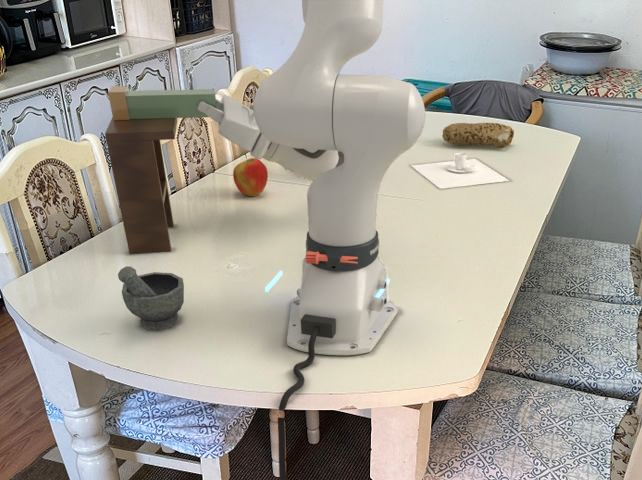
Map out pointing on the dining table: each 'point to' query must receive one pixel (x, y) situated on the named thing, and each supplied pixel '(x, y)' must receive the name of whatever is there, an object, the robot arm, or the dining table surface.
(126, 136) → the rack
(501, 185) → the dining table surface
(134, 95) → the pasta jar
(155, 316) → the mortar and pestle
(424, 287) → the dining table surface
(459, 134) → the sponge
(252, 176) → the apple
